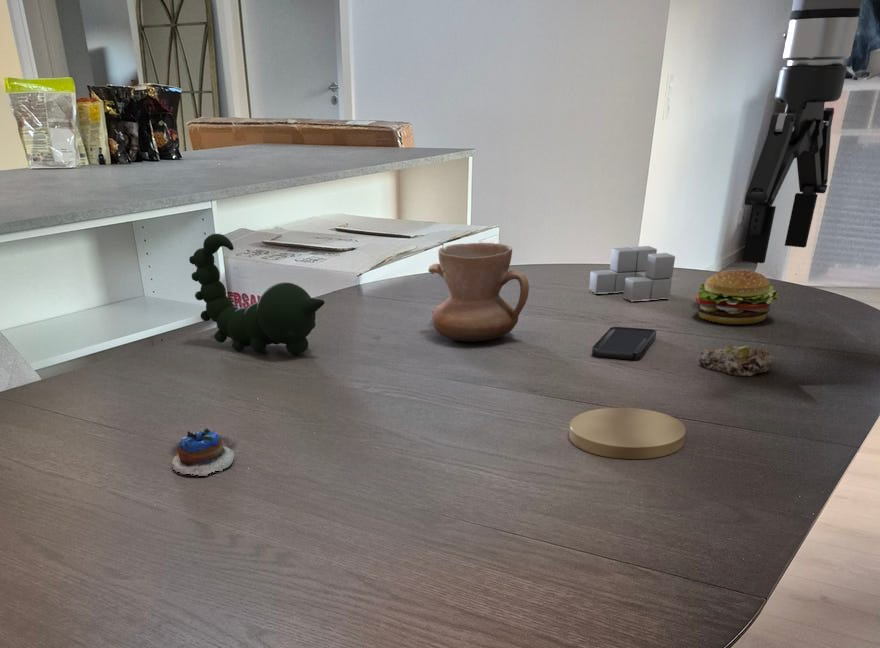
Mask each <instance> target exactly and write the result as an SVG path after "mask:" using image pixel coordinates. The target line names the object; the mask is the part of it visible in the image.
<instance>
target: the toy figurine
mask: <svg viewBox="0 0 880 648" xmlns="http://www.w3.org/2000/svg"><path fill="white" fill-rule="evenodd" d="M222 247H223V248H227V249H228V250H230V251H233V250H234V249H235V248H234V245H233V242H232V241H231V240H230V239H229V238H228V237H227V236H225V235H224V234H222V233H211V234H209V235H208V236H207V237H206V238H205V239H204V241H203V244H202V247H200V248H197V249H196V250H194V253H193V254H192V255H191V256H189V259H188V260H189V263H190V264H191V265H194V266H195V268H196V270H195V271H193V272H192V273H191V279H192V281H194V282H198V283H199V285H201V286H200V291H195V293H194V297H195V299H196V300H197V301H203V302H204V303H206V304H205V310H202V311H201V313H200V319H201V320H202V321H203V322H210V320H211V321H212V322H215V323H216V327H217V329H218V330H216V331H215V332H214V339H215V341H216V342H218V343H220V344H222V343H224V342H226V341H227V339H228V338H229V339H231V340H232V344H231V345H232V348H233V350H234V351H235V352H242V351H244V349H245V347H247V348H248V347H251V349H252V350H253V351H255V352H258V353H261V352H263V351H264V350H265V349H266V348H267V346H268V345H276V346H277V345H285V349H286V351H287V353H288V354H290V355H292V356H296V355H297V356H300V355H301V354H305V352H306V351H307V350H308V348H309V341H308V338H307V337H308V336H309V335H310V334H311V332H312V330H313V329H315V327H316V315H317V313H316V312H317V311H318V310H320V309H321V307H323V306H324V305H325V303H326V302H325V300H324V299H321V298H315V297H311V295H310V294H309V293H308V291H306V290H305V289H304V288H303V287H301V286H300V285H298V284H295V283H292V282H288V281H282V282H277V283H274V284H273V285H271V286H269V287H268V288H266V289H265V291H264V292H263V293H262V294H261V295H260V297H259V299H258V301H256V302H253V303H252V304H250V305H249V306H248V307H240V308H239V307H237V306H234V303H233V301H232V300H231V298H230V297H228V295H227V290H226V286H225V284H224V283H223V282H222V281H220V279H221V272H220V270H219V267H218V266H217V265H216V264H215V256H214V254H216V253H217V252H218V251H219V249H220V248H222ZM241 350H242V351H241ZM299 354H300V355H299Z"/></svg>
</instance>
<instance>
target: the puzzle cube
mask: <svg viewBox="0 0 880 648" xmlns="http://www.w3.org/2000/svg"><path fill="white" fill-rule="evenodd" d="M675 260H676V256H675V255H673V254H671V253H668V252H658V249H657V248H655V247H653V246H650V245H642V246H641V245H640V246H631V247H630V246H625V247H613V248H612V249H611V255H610V263H609V264H610V265H609V269H610V270H609V269H604V270H603V269H602V270H591V271H590V275H589V276H590V278H589V287H588V290H589V289H591V290H592V291H594V292H596V293H598V292H614V291H615V292H617V291H618V292H619V291H624V293H623V297H625V298H627V299H629V300H642V299H660V298H669V299H670V295H671V288H672V281H673V280H672V278H673V275H674V268H675Z"/></svg>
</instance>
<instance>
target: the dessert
mask: <svg viewBox="0 0 880 648" xmlns="http://www.w3.org/2000/svg"><path fill="white" fill-rule="evenodd" d="M186 434H187V435H186V436H184V437H183V438H181V439H180V441H179V442H178V444H177V446H176V451H177V454H176V455H175V456H174V458H173V459H172V461H171V468H172V467H173V468H174V469H175V470H176V471H178V472H181V473H183V474H182V475H186V474H191V475H190V476H195V475H196V474H199V473H200V474H208V473H211V472H213V473H216V472H215V471H219V470H223V469H225V468H226V469H227V468H229V466H231V465H232V464H233V461H234V458H235V452H234V451H233V450H232V449H231V448H229V447H227V446H224V443H223V440H222V437H221V435H219V434H218V433H216V431H212V430H210V429H208V427H206V428H205V429H203V430H200V431H199V432H198V431H196V432H191V431H189V430H187V433H186ZM226 469H225V470H226ZM192 474H194V475H192Z"/></svg>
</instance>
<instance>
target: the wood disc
mask: <svg viewBox="0 0 880 648" xmlns="http://www.w3.org/2000/svg"><path fill="white" fill-rule="evenodd" d="M686 433H687V428H686V426H685V424H684V423H683V422H682V421H680V419H677V418H675V417H673V416H672V415H668V414H666V413H663V412H659V411H654V410H651V409H646V408H645V409H644V408H635V407H606V408H597V409H592V410H589V411H588V410H587V411H585V412H581V413H580V414H577V415H575V416H574V417H573V418H572V419H571V420H570V423H569V431H568V438H569V440H570V443H572V444H573V445H574V446H575V447H577V448H579V449H580V450H583V451H585V452H588V453H590V454H593V455H597V456H601V457H605V458H612V459H621V460H649V459H657V458H661V457H667V456H670V455H673V454H674V453H676V452H678V451H680V450H681V449H682V448H683V447H684V444H685V439H686Z"/></svg>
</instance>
